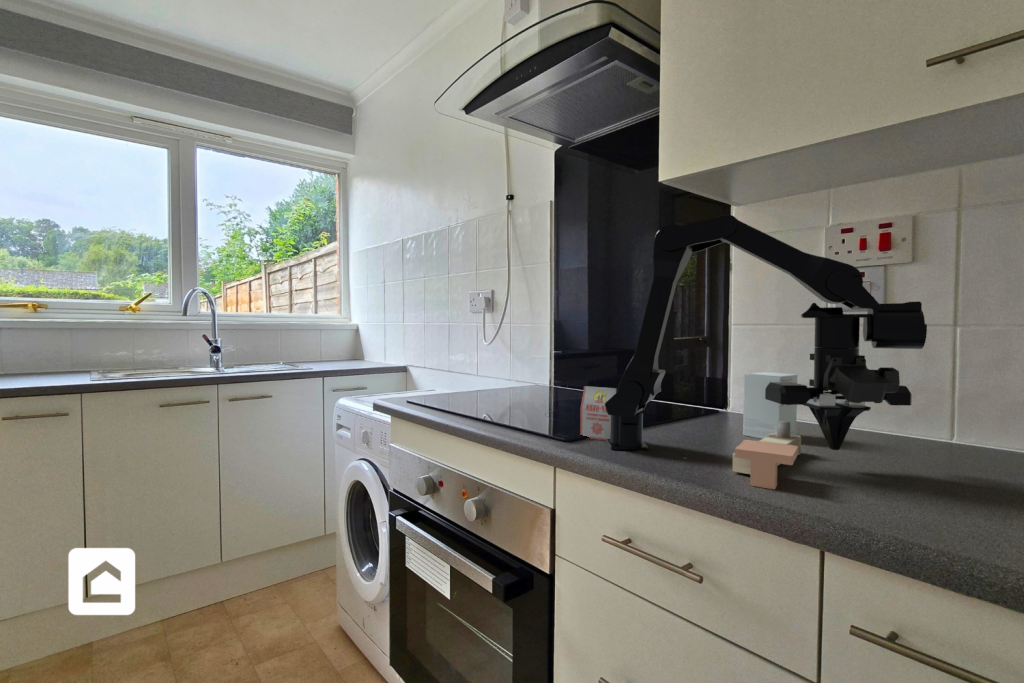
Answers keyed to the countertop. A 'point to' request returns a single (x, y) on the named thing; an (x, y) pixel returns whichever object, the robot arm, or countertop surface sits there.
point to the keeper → (765, 460)
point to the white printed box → (596, 413)
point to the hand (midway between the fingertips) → (834, 449)
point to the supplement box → (765, 405)
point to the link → (779, 437)
